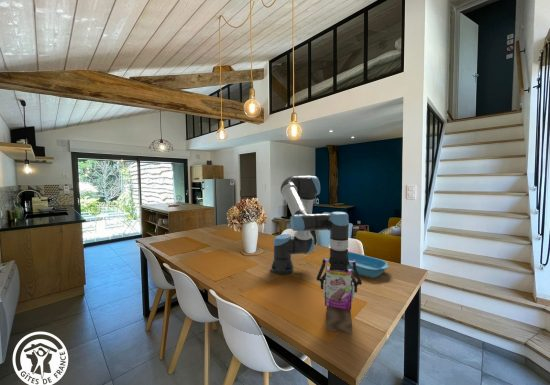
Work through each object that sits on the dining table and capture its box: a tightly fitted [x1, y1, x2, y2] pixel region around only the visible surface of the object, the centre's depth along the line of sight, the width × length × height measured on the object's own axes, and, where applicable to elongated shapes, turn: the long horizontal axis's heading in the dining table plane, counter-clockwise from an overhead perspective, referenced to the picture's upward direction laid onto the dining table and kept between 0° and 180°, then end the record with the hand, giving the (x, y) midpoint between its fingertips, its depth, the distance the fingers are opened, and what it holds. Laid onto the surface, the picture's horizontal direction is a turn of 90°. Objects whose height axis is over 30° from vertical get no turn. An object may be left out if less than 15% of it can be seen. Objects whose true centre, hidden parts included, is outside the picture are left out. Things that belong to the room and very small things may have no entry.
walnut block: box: [325, 306, 353, 335], centre depth 101 cm, size 10×16×5 cm, turn 166°
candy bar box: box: [324, 265, 353, 311], centre depth 100 cm, size 11×5×16 cm, turn 71°
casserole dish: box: [347, 251, 390, 279], centre depth 156 cm, size 37×22×7 cm, turn 45°
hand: (338, 297), depth 101 cm, fingers closed on candy bar box, 11 cm apart
